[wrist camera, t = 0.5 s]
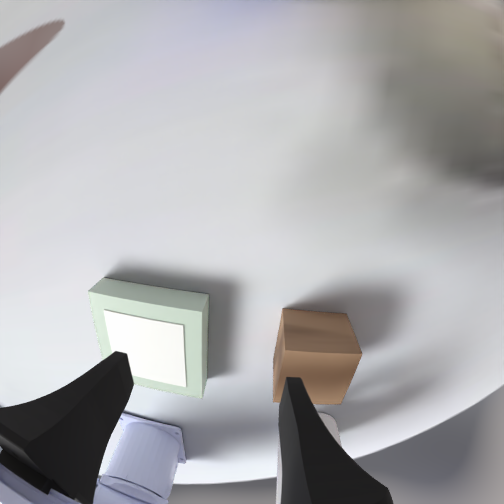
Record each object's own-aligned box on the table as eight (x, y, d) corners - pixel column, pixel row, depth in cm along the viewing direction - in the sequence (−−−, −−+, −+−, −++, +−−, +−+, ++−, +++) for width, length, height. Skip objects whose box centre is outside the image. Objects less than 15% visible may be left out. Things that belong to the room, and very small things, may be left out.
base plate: (207, 379, 24) (201, 399, 22) (117, 360, 24) (107, 377, 22) (209, 294, 21) (201, 312, 19) (103, 277, 21) (87, 291, 19)
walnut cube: (330, 361, 23) (340, 404, 18) (273, 357, 23) (273, 402, 18) (346, 313, 21) (362, 354, 16) (282, 307, 21) (285, 350, 17)
